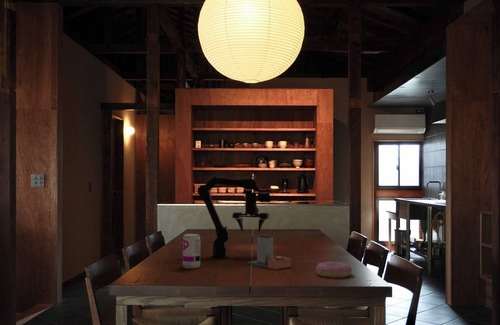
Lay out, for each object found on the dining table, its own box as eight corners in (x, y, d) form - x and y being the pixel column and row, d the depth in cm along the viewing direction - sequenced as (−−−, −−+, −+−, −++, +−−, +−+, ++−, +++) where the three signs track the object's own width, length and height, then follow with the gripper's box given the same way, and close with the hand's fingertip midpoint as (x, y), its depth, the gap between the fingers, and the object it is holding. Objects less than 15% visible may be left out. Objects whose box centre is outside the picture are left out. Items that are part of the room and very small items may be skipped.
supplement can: (186, 269, 230) (186, 236, 231) (180, 266, 238) (180, 234, 238) (202, 267, 234) (203, 235, 234) (196, 264, 241) (196, 233, 242)
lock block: (256, 262, 241) (256, 235, 242) (265, 261, 245) (265, 234, 245) (265, 263, 237) (265, 236, 237) (273, 262, 241) (273, 235, 241)
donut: (327, 280, 207) (327, 268, 207) (309, 273, 221) (309, 262, 221) (359, 277, 213) (359, 265, 213) (339, 271, 227) (339, 259, 227)
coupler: (247, 264, 243) (247, 253, 243) (262, 261, 249) (262, 251, 250) (275, 269, 229) (275, 258, 229) (290, 267, 236) (290, 256, 236)
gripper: (271, 201, 272) (271, 230, 271) (238, 201, 277) (238, 230, 276) (266, 202, 261) (266, 233, 260) (232, 202, 266) (232, 232, 265)
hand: (250, 232), depth 266 cm, fingers open, 9 cm apart
